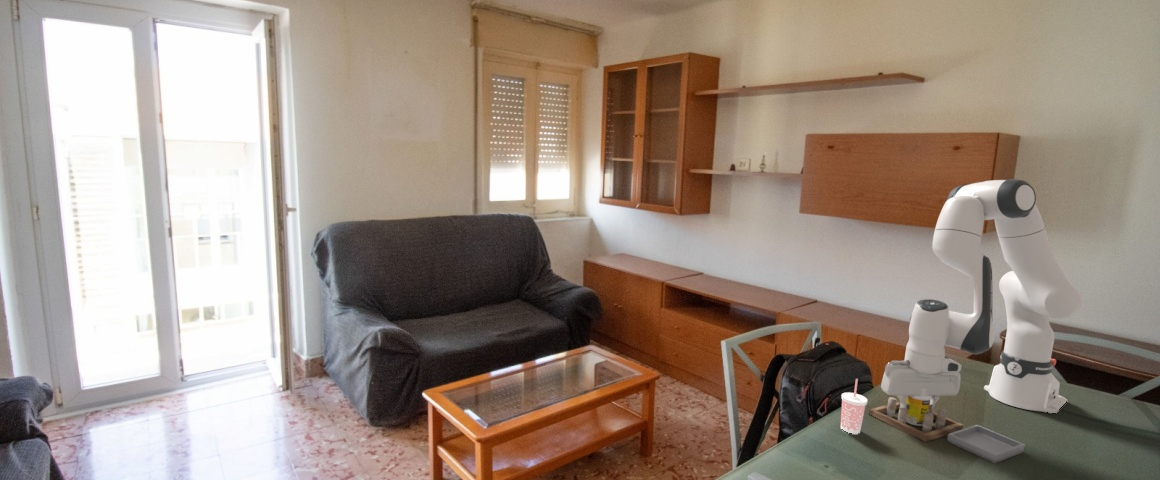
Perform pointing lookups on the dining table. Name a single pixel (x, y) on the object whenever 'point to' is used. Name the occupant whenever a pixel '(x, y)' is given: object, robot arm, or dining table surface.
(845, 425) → the beverage cup
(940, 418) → the wooden peg board
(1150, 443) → the dining table surface
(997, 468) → the dining table surface
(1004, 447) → the tray
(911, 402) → the supplement bottle
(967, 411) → the dining table surface
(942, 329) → the robot arm
